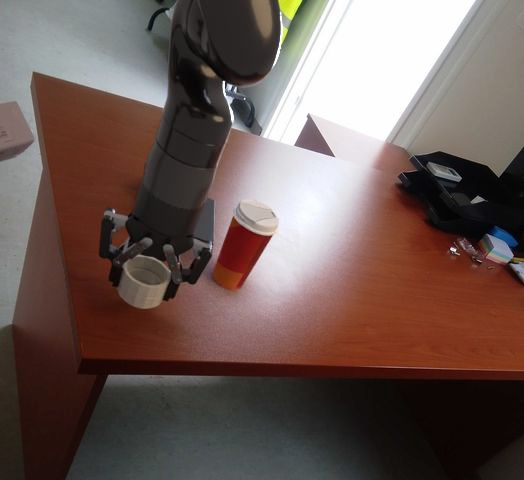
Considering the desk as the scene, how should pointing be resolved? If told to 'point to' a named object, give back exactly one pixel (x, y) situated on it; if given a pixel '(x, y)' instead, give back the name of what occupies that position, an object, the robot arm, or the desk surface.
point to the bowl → (143, 282)
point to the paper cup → (244, 242)
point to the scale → (206, 223)
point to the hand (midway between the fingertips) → (141, 290)
